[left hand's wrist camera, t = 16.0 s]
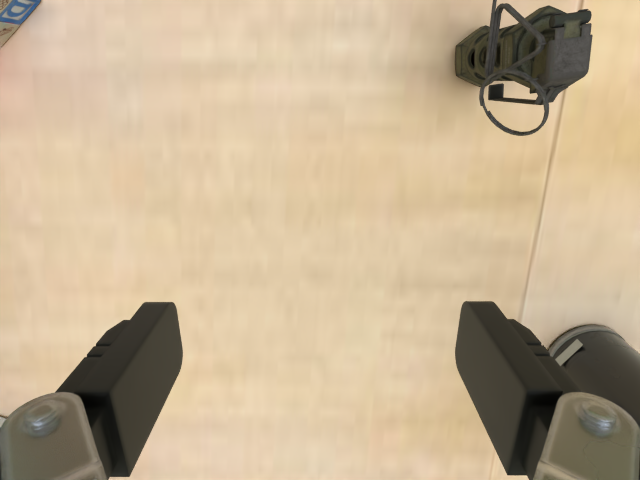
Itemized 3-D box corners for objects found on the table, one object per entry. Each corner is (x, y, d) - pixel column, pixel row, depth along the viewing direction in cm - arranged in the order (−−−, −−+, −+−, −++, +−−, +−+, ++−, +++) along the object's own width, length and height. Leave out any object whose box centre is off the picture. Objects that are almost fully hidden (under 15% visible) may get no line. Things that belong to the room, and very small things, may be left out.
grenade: (438, 22, 37) (511, -12, 23) (504, 13, 37) (618, -27, 23) (440, 123, 40) (504, 147, 26) (500, 115, 40) (598, 136, 26)
